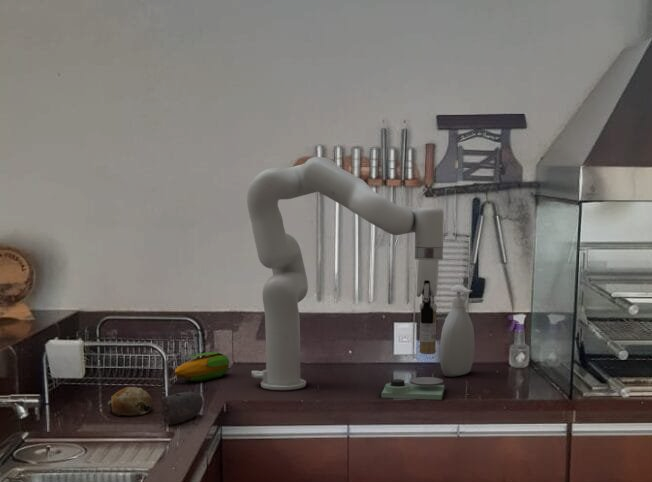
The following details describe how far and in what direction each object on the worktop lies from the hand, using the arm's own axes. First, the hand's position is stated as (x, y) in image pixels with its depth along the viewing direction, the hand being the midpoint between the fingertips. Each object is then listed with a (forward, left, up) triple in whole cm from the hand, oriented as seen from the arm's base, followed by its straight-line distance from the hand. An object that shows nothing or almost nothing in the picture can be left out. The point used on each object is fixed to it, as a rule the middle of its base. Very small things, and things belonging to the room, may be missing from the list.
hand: (427, 321), depth 242 cm
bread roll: (-71, -32, -20) cm, 80 cm away
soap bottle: (+7, +26, -20) cm, 33 cm away
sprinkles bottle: (0, 0, -9) cm, 9 cm away
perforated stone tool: (-55, -38, -20) cm, 70 cm away
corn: (-66, +8, -20) cm, 69 cm away
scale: (-4, -1, -20) cm, 20 cm away
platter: (0, 0, -17) cm, 17 cm away
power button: (-8, -4, -17) cm, 19 cm away
